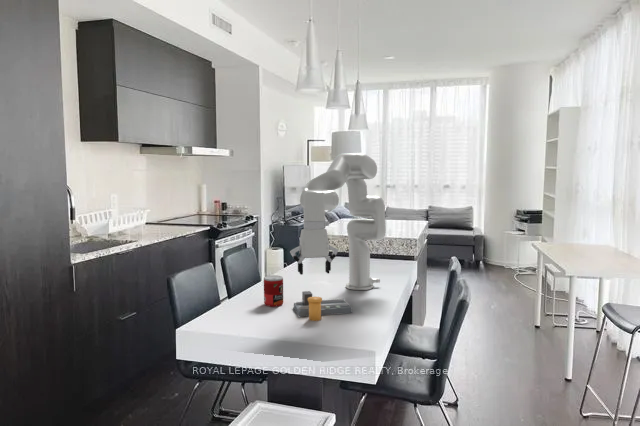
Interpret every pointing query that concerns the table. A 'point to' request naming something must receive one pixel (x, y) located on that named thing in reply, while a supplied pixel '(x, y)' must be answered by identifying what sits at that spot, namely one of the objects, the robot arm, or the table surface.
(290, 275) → the table surface
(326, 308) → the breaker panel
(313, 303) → the orange pill bottle
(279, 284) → the canned food
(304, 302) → the knob
